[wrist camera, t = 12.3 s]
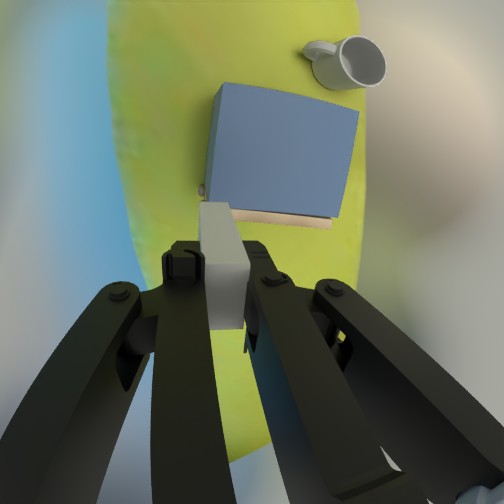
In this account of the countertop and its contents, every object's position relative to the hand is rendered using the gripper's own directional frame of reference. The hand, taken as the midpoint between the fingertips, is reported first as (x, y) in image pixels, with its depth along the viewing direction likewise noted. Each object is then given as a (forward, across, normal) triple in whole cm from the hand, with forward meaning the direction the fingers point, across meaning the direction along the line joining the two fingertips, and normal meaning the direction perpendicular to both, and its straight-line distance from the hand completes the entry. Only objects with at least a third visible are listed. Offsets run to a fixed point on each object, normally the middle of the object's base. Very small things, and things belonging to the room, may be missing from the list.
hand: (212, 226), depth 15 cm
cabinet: (+25, +8, +3) cm, 26 cm away
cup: (+25, +16, +16) cm, 34 cm away
